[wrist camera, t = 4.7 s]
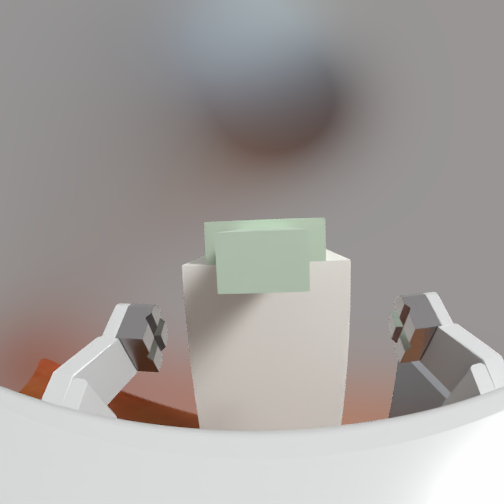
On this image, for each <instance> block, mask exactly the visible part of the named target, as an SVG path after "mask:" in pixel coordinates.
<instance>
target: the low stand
mask: <svg viewBox="0 0 504 504" xmlns="http://www.w3.org/2000/svg"><path fill="white" fill-rule="evenodd" d="M420 361H421V360H420ZM420 361H413V362H406V363H399V360H398V365H397V373H396V379H395V386H394V392H393V397H392V403H391V409H390V413H389V418H393V417H398V416H403V415H408V414H412V413H417V412H421V411H426V410H430V409H434V408H438V407H441V406H442V404H443V402H444V401H445V400H446V398H447V397H448V396H449V395H450V394H451V393H450V392H449V391H448V390H447V389H446V388H445V386H444V385H443V384H442V383H441V382H440V381H439V380H438V379H437V378H436V377H435V376H434V375H433V374H432V373H431V372H430V371H429V370H428V369H427V368H426V367H425V366H424V365H423V364H422V363H421V362H420Z"/></svg>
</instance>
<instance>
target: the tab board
mask: <svg viewBox="0 0 504 504" xmlns="http://www.w3.org/2000/svg"><path fill="white" fill-rule="evenodd" d="M204 229H205V250H206V265H216V272H217V289H218V294H248V293H280V292H305V291H310V263H309V262H311V261H326V237H325V218H301V219H300V218H298V219H269V220H246V221H245V220H242V221H221V222H204Z"/></svg>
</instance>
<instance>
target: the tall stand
mask: <svg viewBox="0 0 504 504" xmlns="http://www.w3.org/2000/svg"><path fill="white" fill-rule="evenodd" d="M309 263H310V291H305V292H280V293H248V294H218V289H217V272H216V265H206V255H203V256H202V257H199V258H197V259H195V260H193V261H191V262H189V263H187V264H184V265H182V273H183V288H184V301H185V313H186V323H187V332H188V343H189V352H190V361H191V369H192V377H193V384H194V392H195V399H196V406H197V413H198V420H199V426H200V429H212V430H247V431H258V430H292V429H308V428H321V427H331V426H340V425H341V421H342V413H343V403H344V394H345V384H346V371H347V358H348V343H349V323H350V286H351V284H350V283H351V281H350V280H351V278H350V277H351V260H350V259H347V258H345V257H343V256H340V255H338V254H336V253H334V252H331V251H329V250H327V249H326V261H311V262H309Z"/></svg>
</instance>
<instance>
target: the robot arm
mask: <svg viewBox="0 0 504 504" xmlns="http://www.w3.org/2000/svg"><path fill="white" fill-rule="evenodd" d="M394 306H395V308H396V309H395V310H394V311H393V312H392V313H391V315H390V318H389V333H390V336H391V339H392V340H394V341H395V342H396V343H397V344H396V347H395V351H396V354H397V357H398V360H399V363H406V362H413V361H420V360H421V361H420V362H421V363H422V364H423V365H424V366H425V367H426V368H427V369H428V370H429V371H430V372H431V373H432V374H433V375H434V376H435V377H436V378H437V379H438V380H439V381H440V382H441V383H442V384H443V385H444V386H445V388H446V389H447V390H448V391H449V392H450V393H451V394H450V395H449V396H448V397H447V398H446V400H445V401H444V402H443V404H442V406H441V407H438V408H434V409H430V410H426V411H421V412H417V413H412V414H408V415H403V416H398V417H393V418H388V419H383V420H376V421H370V422H364V423H356V424H349V425H340V426H331V427H321V428H308V429H292V430H258V431H247V430H212V429H196V428H184V427H174V426H164V425H156V424H149V423H142V422H135V421H129V420H123V419H117V417H116V415H115V414H114V412H113V411H112V410H111V409H110V408H109V407H108V406H107V405H108V404H109V403H110V402H111V400H112V399H113V398H114V397H115V396H116V395H117V394H118V393H119V392H120V391H121V389H122V388H123V387H124V386H125V385H126V384H127V383H128V382H129V381H130V380H131V378H132V377H133V376H134V375H135V374H136V373H137V371H148V372H159V370H160V367H161V363H162V359H163V356H162V354H161V351H162V350H163V349H164V348H165V347H166V343H167V333H168V332H167V326H166V323H165V321H163V320H162V319H161V318H160V316H161V313H162V312H161V310H160V308H159V306H158V305H148V304H122V303H119V304H118V305H116V306H115V309H114V311H113V313H112V315H111V317H110V320H109V322H108V324H107V326H106V328H105V331H104V333H103V335H102V337H98V338H96V339H95V340H93V341H92V342H91V343H90V344H88V345H87V346H86V347H85V348H83V349H82V350H81V351H79V352H78V353H77V354H76V355H75V356H73V357H72V358H71V359H69V360H68V361H67V362H66V363H64V364H63V365H62V366H60V367H59V368H58V369H57V370H55V371H54V372H53V374H52V376H51V379H50V381H49V383H48V386H47V388H46V390H45V393H44V395H43V397H42V400H39V399H36V398H33V397H30V396H27V395H24V394H21V393H18V392H15V391H12V390H9V389H7V388H4V387H1V386H0V504H504V361H503V358H502V356H501V355H499V354H498V353H497V352H495V351H494V350H493V349H491V348H490V347H489V346H487V345H486V344H485V343H483V342H482V341H480V340H479V339H477V338H476V337H475V336H473V335H472V334H471V333H469V332H468V331H467V330H465V329H464V328H462V327H461V326H459V325H458V324H453V322H452V320H451V318H450V316H449V314H448V313H447V311H446V309H445V307H444V305H443V303H442V301H441V300H440V298H439V296H438V294H437V293H435V292H430V293H422V294H412V295H402V296H398V297H397V298H396V300H395V302H394Z"/></svg>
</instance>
